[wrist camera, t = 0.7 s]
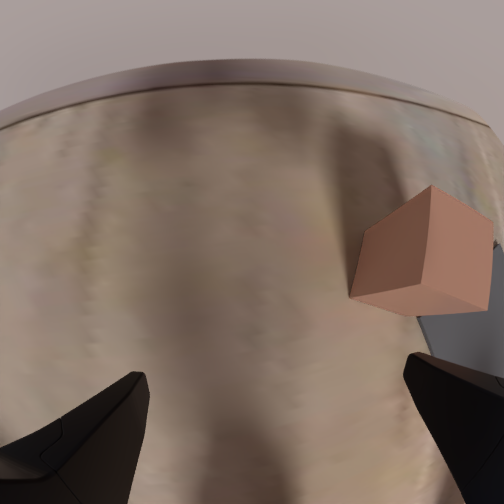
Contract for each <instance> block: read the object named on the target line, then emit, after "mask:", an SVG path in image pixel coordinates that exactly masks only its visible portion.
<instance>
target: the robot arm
mask: <svg viewBox="0 0 504 504" xmlns="http://www.w3.org/2000/svg"><path fill="white" fill-rule="evenodd" d="M403 377H404V380H405V383H406V385H407V387H408V389H409V392H410V394H411V396H412V398H413V401H414V403H415V405H416V408H417V410H418V412H419V413H420V415H421V417H422V419H423V421H424V422H425V424H426V426H427V428H428V430H429V431H430V433H431V435H432V437H433V439H434V441H435V443H436V444H437V446H438V448H439V450H440V452H441V454H442V456H443V458H444V460H445V462H446V464H447V466H448V468H449V470H450V472H451V474H452V476H453V478H454V480H455V482H456V484H457V486H458V488H459V490H460V492H461V495H462V497H463V499H464V501H465V503H466V504H504V378H501V377H498V376H494V375H491V374H488V373H484V372H481V371H478V370H474V369H471V368H468V367H465V366H461V365H458V364H455V363H452V362H449V361H446V360H443V359H439V358H436V357H433V356H430V355H427V354H424V353H421V352H415V353H411V354H409V356H408V358H407V361H406V365H405V368H404V372H403ZM149 400H150V392H149V388H148V383H147V379H146V375H145V373H143V372H136V371H132V372H130V373H129V374H127V375H126V376H124V377H123V378H121V379H120V380H118V381H117V382H115V383H114V384H112V385H110V386H109V387H107V388H106V389H104V390H103V391H101V392H100V393H98V394H97V395H95V396H93V397H92V398H90V399H89V400H87V401H86V402H84V403H82V404H81V405H79V406H78V407H76V408H74V409H73V410H71V411H70V412H68V413H66V414H65V415H63V416H62V417H61V419H60V418H58V419H57V420H55V421H53V422H52V423H50V424H48V425H47V426H45V427H43V428H41V429H40V430H38V431H36V432H34V433H32V434H30V435H27V436H25V437H23V438H21V439H19V440H16V441H14V442H12V443H10V444H8V445H5V446H3V447H1V448H0V504H127V503H128V499H129V495H130V490H131V486H132V482H133V478H134V474H135V470H136V466H137V462H138V458H139V454H140V450H141V447H142V443H143V439H144V434H145V428H146V420H147V413H148V406H149Z"/></svg>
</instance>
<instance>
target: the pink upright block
mask: <svg viewBox="0 0 504 504" xmlns="http://www.w3.org/2000/svg"><path fill="white" fill-rule="evenodd" d="M492 261H493V222H492V221H491V220H489V219H488V218H486V217H485V216H483V215H482V214H480V213H479V212H477V211H475V210H474V209H472V208H471V207H469V206H467V205H466V204H464V203H462V202H461V201H459V200H457V199H456V198H454V197H452V196H451V195H449V194H447V193H445V192H444V191H442V190H440V189H438V188H437V187H435V186H433V185H430V186H429V187H428V188H426V189H425V190H423V191H422V192H421V193H419V194H418V195H416V196H415V197H414V198H412V199H411V200H409V201H408V202H407V203H405V204H404V205H402V206H401V207H399V208H398V209H397V210H395V211H394V212H392V213H391V214H389V215H388V216H386V217H385V218H384V219H382V220H381V221H379V222H378V223H376V224H375V225H373V226H372V227H370V228H369V229H367V230H366V231H365V233H364V237H363V242H362V247H361V251H360V256H359V260H358V264H357V269H356V273H355V277H354V281H353V285H352V289H351V293H350V296H349V298H350V299H353V300H356V301H360V302H363V303H366V304H369V305H372V306H375V307H378V308H381V309H384V310H387V311H391V312H394V313H397V314H400V315H403V316H426V315H442V314H456V313H468V312H479V311H487V310H488V303H489V295H490V286H491V275H492Z"/></svg>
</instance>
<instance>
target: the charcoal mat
mask: <svg viewBox="0 0 504 504" xmlns="http://www.w3.org/2000/svg"><path fill="white" fill-rule="evenodd" d="M417 319H418V322H419V324H420V327H421V329H422V332H423V334H424V337H425V339H426V342H427V345H428V347H429V350H430V353H431V355H432V356H433V357H436V358H439V359H443V360H446V361H449V362H452V363H455V364H458V365H461V366H465V367H468V368H471V369H474V370H478V371H481V372H484V373H488V374H491V375H494V376H498V377H501V378H504V253H503V250H502V247H501V245H500V244H497V245H496V246H495V247H494V248H493V261H492V275H491V286H490V295H489V303H488V310H487V311H479V312H468V313H456V314H442V315H426V316H419V317H417Z"/></svg>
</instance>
